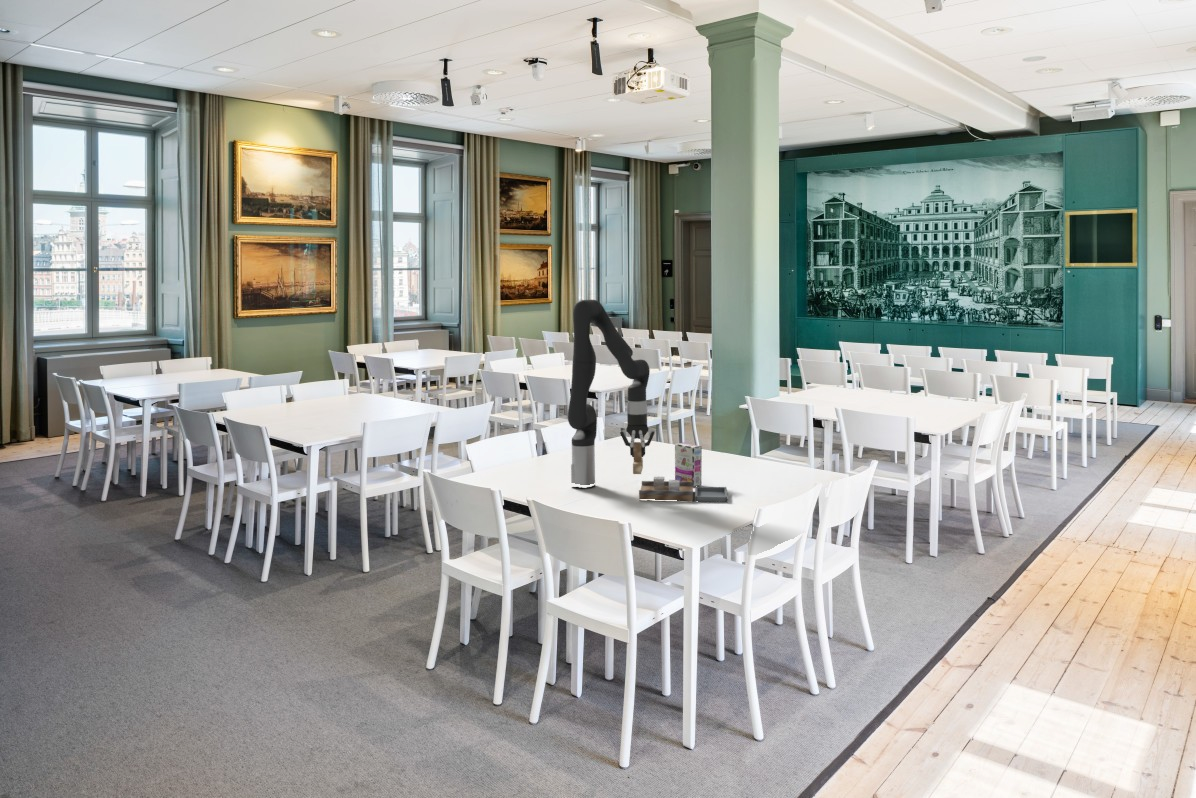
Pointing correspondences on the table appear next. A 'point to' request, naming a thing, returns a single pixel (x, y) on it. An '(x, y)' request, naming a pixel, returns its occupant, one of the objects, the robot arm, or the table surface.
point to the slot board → (666, 491)
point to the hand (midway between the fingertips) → (637, 456)
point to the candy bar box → (688, 463)
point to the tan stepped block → (637, 458)
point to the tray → (711, 494)
